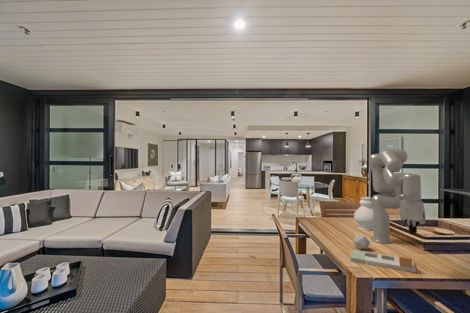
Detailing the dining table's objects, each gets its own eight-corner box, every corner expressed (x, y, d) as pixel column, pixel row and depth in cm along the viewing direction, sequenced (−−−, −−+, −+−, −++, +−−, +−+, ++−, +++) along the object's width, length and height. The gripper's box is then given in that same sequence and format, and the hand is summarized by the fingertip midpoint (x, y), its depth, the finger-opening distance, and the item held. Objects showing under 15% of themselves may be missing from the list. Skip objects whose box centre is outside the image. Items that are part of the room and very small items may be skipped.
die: (369, 253, 144) (374, 238, 148) (355, 245, 146) (360, 230, 149) (362, 253, 152) (367, 239, 156) (348, 245, 154) (354, 231, 157)
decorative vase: (362, 224, 207) (361, 195, 208) (383, 229, 192) (383, 198, 192) (349, 227, 198) (349, 197, 199) (371, 232, 183) (370, 200, 183)
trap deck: (351, 253, 144) (351, 249, 144) (411, 262, 130) (411, 259, 130) (350, 261, 132) (350, 257, 132) (415, 272, 118) (415, 268, 118)
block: (398, 262, 126) (398, 253, 126) (410, 264, 123) (410, 255, 123) (399, 266, 121) (399, 257, 121) (412, 268, 119) (411, 258, 119)
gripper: (392, 196, 129) (393, 230, 128) (425, 200, 116) (426, 238, 115) (400, 195, 133) (400, 229, 132) (432, 199, 120) (433, 236, 119)
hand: (412, 233), depth 124 cm, fingers closed
